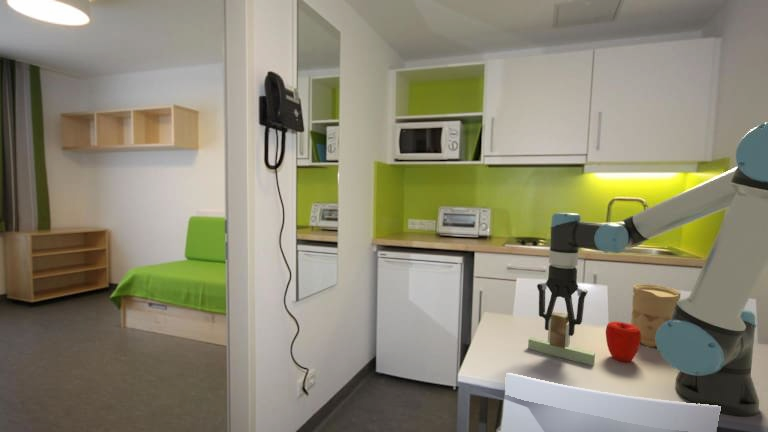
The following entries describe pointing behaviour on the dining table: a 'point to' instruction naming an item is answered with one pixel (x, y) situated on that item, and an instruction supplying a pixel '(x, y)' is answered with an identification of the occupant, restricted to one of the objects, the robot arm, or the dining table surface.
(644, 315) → the container
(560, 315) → the walnut block
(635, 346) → the apple
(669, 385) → the dining table surface
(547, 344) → the rail
